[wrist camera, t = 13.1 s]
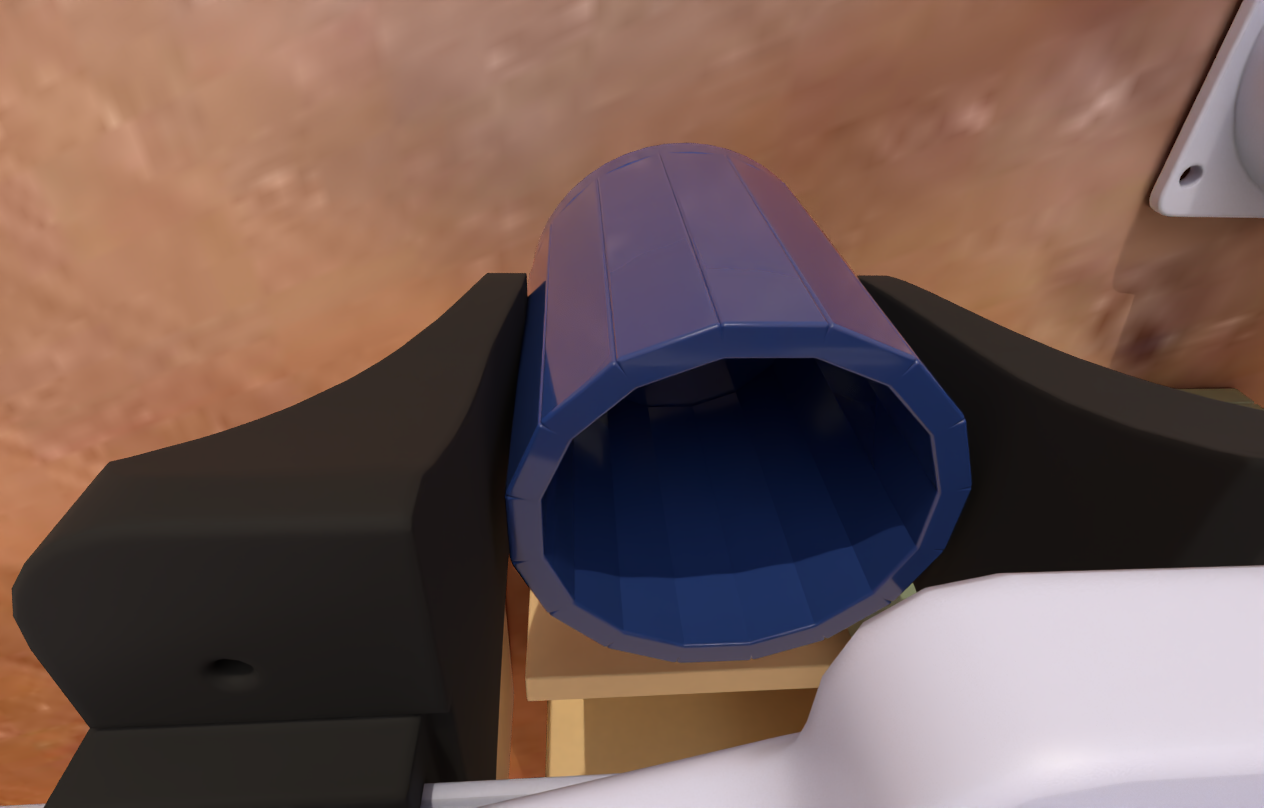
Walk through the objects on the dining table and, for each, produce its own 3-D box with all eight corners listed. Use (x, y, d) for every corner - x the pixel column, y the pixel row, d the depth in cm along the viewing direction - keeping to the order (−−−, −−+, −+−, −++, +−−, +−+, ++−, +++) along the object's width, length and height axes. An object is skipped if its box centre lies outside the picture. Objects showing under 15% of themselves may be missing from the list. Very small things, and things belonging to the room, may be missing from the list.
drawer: (346, 700, 26) (280, 939, 20) (254, 434, 18) (106, 685, 12) (832, 678, 27) (906, 893, 21) (922, 425, 20) (1071, 643, 14)
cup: (524, 138, 11) (488, 323, 6) (843, 145, 11) (1046, 323, 7) (536, 404, 14) (519, 671, 9) (789, 403, 14) (900, 655, 10)
